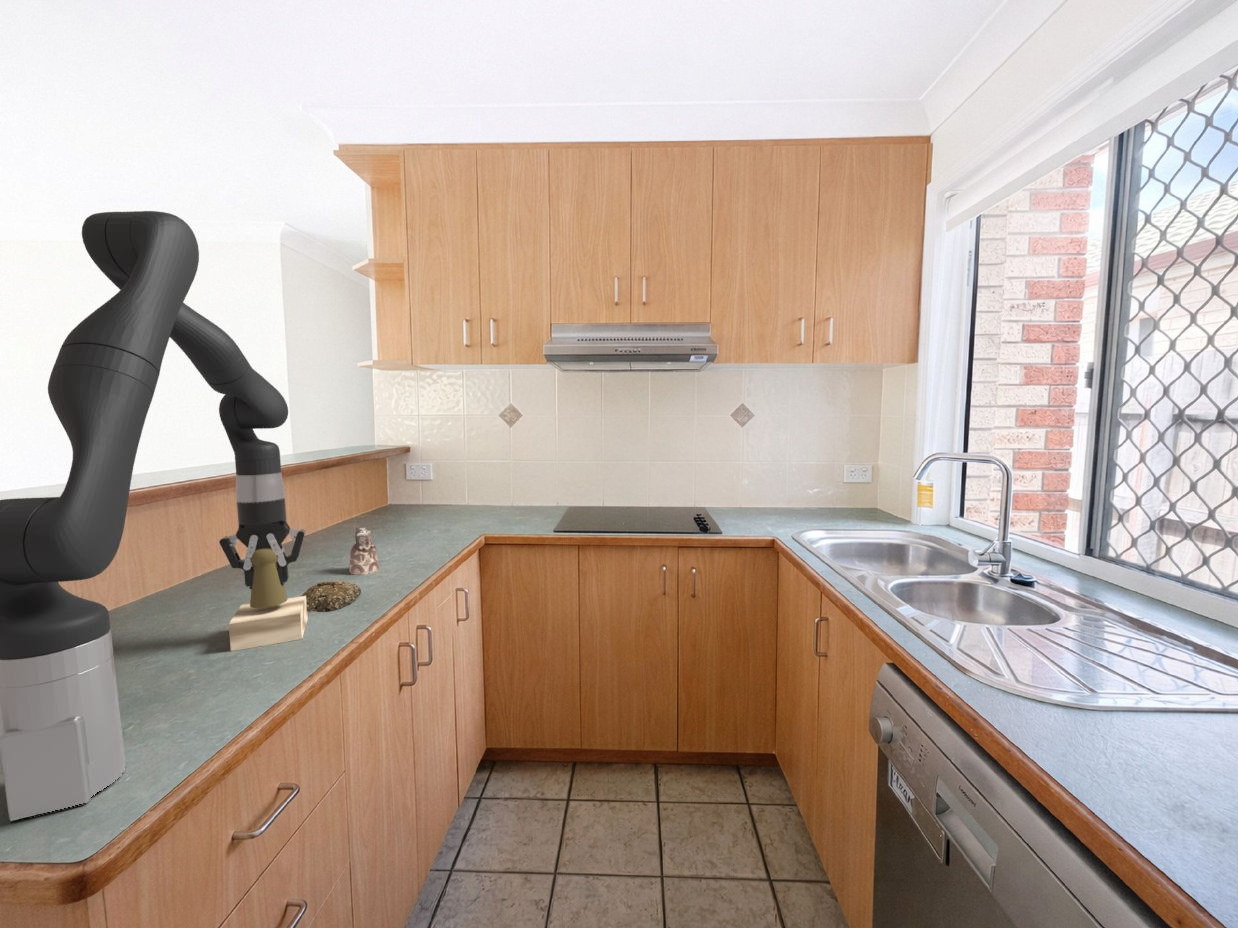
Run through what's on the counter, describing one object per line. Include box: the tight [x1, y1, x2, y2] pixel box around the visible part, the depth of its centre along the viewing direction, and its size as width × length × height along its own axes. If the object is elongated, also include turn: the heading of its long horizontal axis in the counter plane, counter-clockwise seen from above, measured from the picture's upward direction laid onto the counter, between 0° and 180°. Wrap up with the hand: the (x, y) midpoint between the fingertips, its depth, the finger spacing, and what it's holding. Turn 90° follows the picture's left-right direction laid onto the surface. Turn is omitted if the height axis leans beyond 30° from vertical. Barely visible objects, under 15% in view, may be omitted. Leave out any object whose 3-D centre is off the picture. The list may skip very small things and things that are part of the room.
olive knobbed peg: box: [249, 548, 288, 608], centre depth 101 cm, size 6×6×11 cm
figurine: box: [348, 525, 380, 576], centre depth 143 cm, size 7×7×12 cm
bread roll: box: [300, 580, 362, 613], centre depth 119 cm, size 13×12×5 cm
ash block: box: [228, 595, 309, 652], centre depth 102 cm, size 11×11×5 cm
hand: (267, 585), depth 101 cm, fingers closed on olive knobbed peg, 4 cm apart
